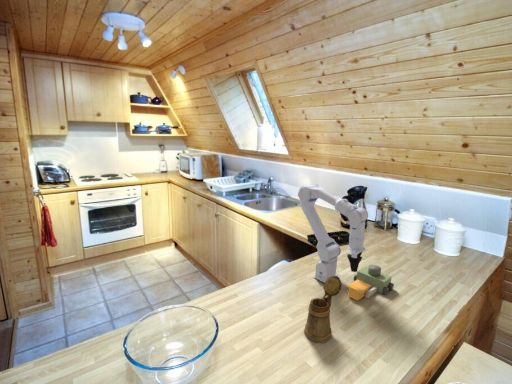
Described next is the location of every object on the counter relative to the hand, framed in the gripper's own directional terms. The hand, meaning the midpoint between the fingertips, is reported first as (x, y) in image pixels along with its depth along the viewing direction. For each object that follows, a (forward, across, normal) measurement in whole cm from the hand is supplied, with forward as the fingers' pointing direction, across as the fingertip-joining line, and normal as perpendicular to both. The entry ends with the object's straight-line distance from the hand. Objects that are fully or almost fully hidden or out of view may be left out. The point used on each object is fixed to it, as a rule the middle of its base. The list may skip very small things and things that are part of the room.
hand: (354, 267), depth 122 cm
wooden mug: (+10, -32, +7) cm, 34 cm away
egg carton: (+9, +52, +18) cm, 56 cm away
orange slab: (+9, -5, -2) cm, 11 cm away
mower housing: (+10, +3, -6) cm, 12 cm away
